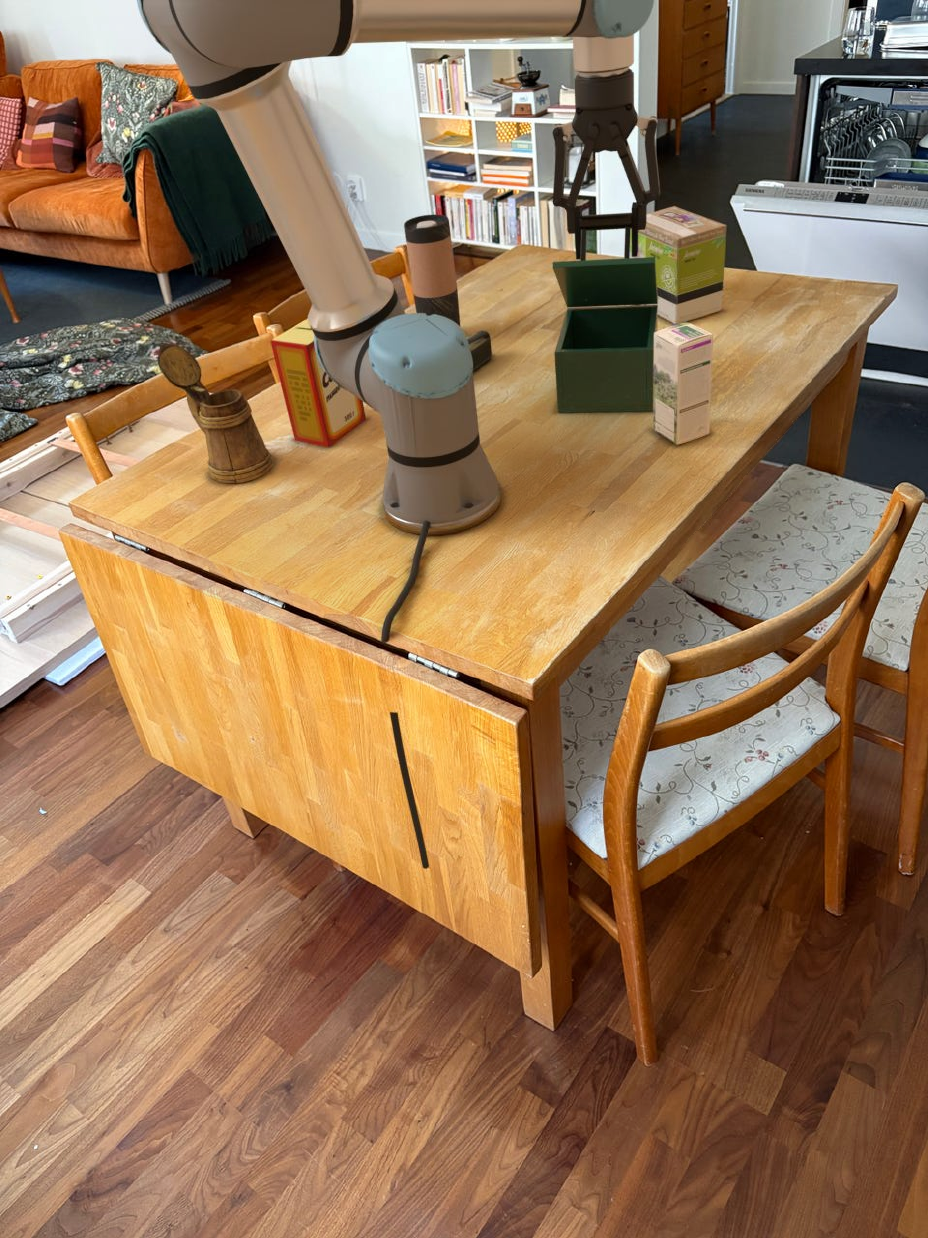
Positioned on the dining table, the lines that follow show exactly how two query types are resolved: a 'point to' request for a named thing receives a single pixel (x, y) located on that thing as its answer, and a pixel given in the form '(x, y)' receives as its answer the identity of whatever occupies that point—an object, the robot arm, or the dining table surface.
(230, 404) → the wooden mug
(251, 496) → the dining table surface
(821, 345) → the dining table surface
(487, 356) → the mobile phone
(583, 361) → the tin
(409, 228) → the travel mug
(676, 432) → the syrup box
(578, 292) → the lid
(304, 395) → the baking soda box
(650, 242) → the tea box
